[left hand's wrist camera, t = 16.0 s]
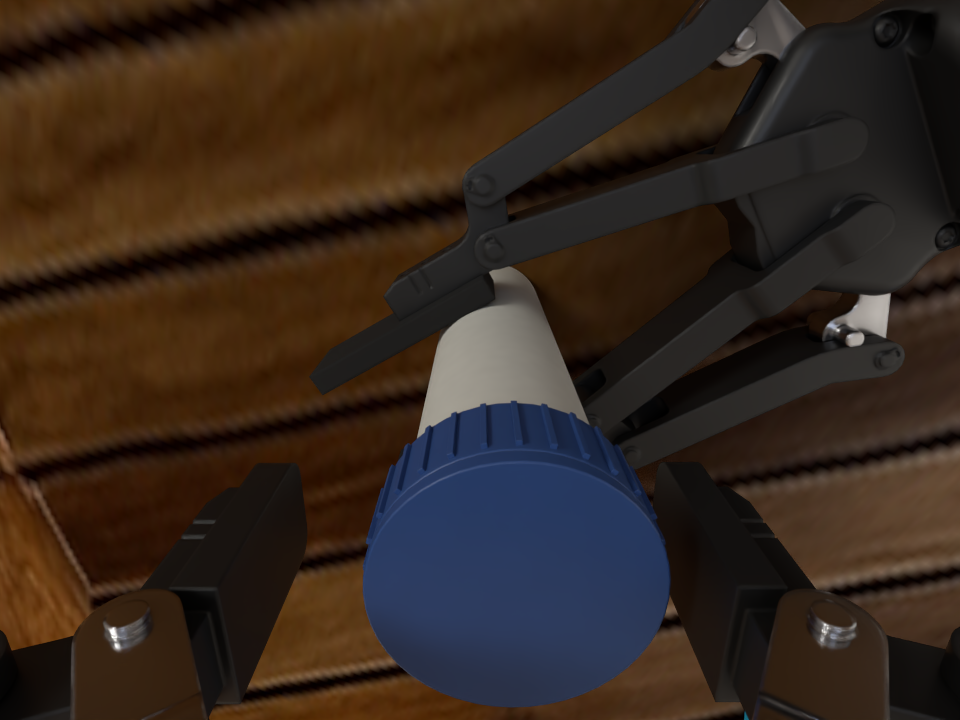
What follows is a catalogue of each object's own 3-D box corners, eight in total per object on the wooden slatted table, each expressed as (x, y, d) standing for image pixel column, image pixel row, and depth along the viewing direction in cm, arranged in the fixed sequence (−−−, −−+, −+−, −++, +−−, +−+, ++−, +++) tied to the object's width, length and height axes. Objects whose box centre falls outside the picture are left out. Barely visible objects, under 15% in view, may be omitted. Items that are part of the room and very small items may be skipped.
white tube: (427, 307, 25) (340, 563, 9) (494, 243, 24) (522, 409, 8) (490, 369, 26) (507, 693, 10) (557, 310, 25) (685, 569, 10)
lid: (440, 646, 12) (432, 742, 10) (334, 451, 10) (300, 520, 8) (669, 576, 11) (709, 664, 9) (595, 358, 10) (624, 409, 8)
